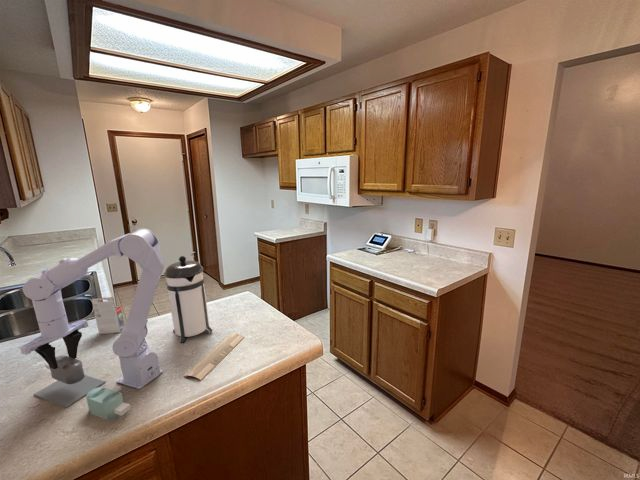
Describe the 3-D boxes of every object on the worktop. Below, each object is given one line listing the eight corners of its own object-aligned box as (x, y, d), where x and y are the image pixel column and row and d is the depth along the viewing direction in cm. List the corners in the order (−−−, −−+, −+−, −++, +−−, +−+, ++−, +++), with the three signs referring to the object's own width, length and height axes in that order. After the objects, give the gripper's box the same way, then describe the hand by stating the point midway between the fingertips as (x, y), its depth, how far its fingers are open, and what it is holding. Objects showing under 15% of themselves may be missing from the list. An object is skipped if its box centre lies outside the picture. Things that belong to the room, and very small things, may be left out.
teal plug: (85, 411, 76) (82, 396, 75) (101, 400, 79) (98, 385, 78) (119, 424, 71) (115, 408, 70) (134, 411, 75) (131, 396, 74)
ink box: (104, 329, 116) (96, 294, 112) (125, 328, 116) (119, 293, 113) (98, 334, 112) (90, 298, 109) (120, 333, 113) (113, 297, 110)
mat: (105, 382, 86) (105, 381, 86) (66, 408, 77) (66, 406, 77) (74, 372, 91) (73, 371, 91) (33, 395, 82) (33, 394, 82)
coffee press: (222, 322, 118) (214, 250, 111) (199, 345, 103) (188, 263, 96) (183, 320, 121) (172, 249, 114) (155, 342, 106) (141, 261, 99)
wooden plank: (230, 337, 109) (229, 332, 109) (247, 339, 107) (246, 335, 107) (184, 379, 87) (183, 374, 87) (204, 383, 85) (203, 378, 85)
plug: (88, 376, 83) (85, 362, 82) (72, 385, 79) (68, 371, 78) (60, 366, 87) (56, 352, 86) (43, 374, 83) (40, 360, 82)
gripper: (72, 304, 87) (82, 345, 90) (7, 328, 74) (22, 376, 77) (88, 307, 84) (98, 349, 87) (24, 333, 71) (38, 382, 74)
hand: (63, 362), depth 82 cm, fingers closed on plug, 4 cm apart
